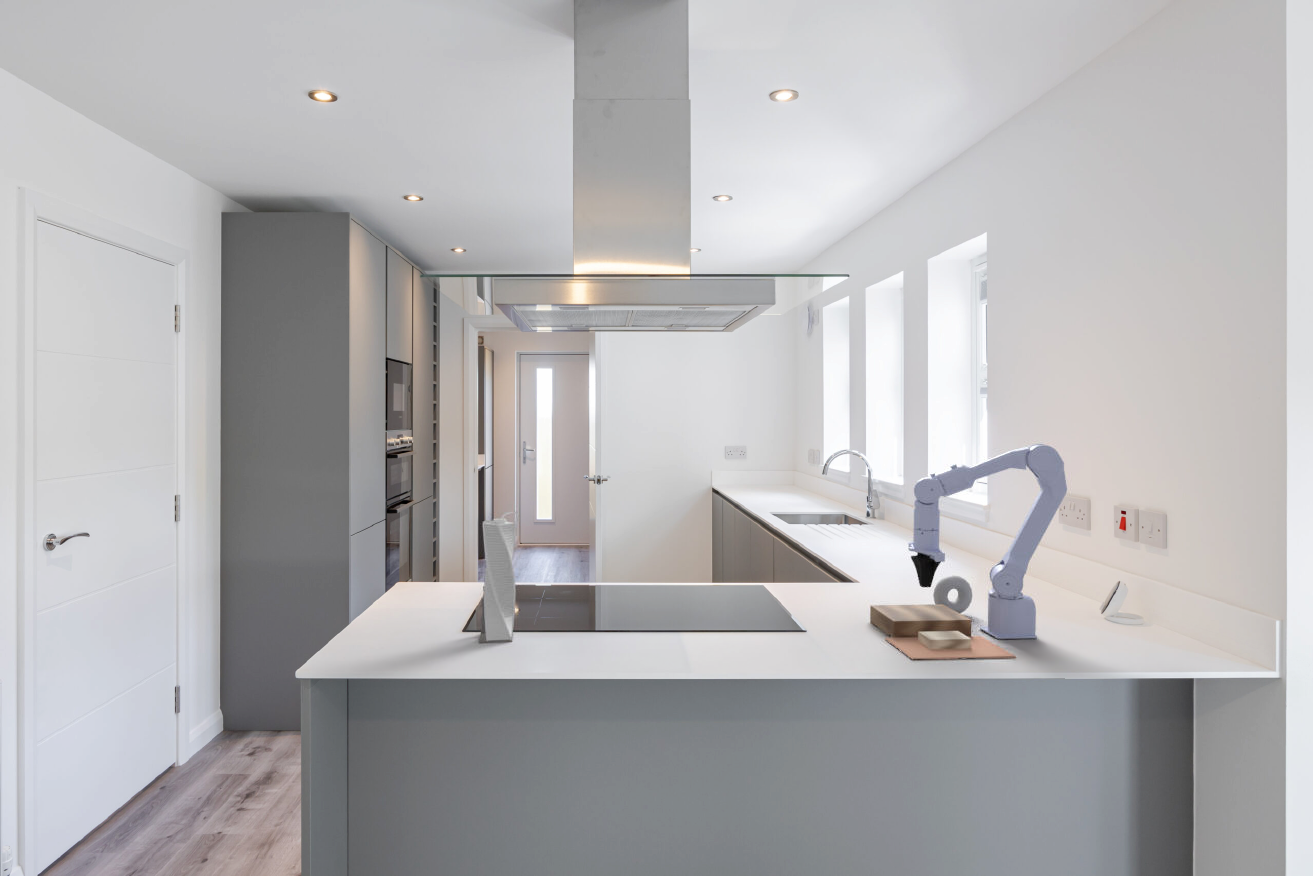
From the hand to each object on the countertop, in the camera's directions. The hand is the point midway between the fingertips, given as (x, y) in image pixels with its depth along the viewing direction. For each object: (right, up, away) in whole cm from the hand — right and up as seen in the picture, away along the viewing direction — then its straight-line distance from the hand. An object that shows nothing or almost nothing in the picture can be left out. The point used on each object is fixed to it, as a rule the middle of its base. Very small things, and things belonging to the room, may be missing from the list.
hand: (925, 586), depth 177 cm
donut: (+11, -9, +11) cm, 18 cm away
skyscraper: (-98, -9, -11) cm, 99 cm away
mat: (-1, -10, -17) cm, 19 cm away
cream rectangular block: (-1, -8, -15) cm, 17 cm away
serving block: (-2, -10, -2) cm, 10 cm away
